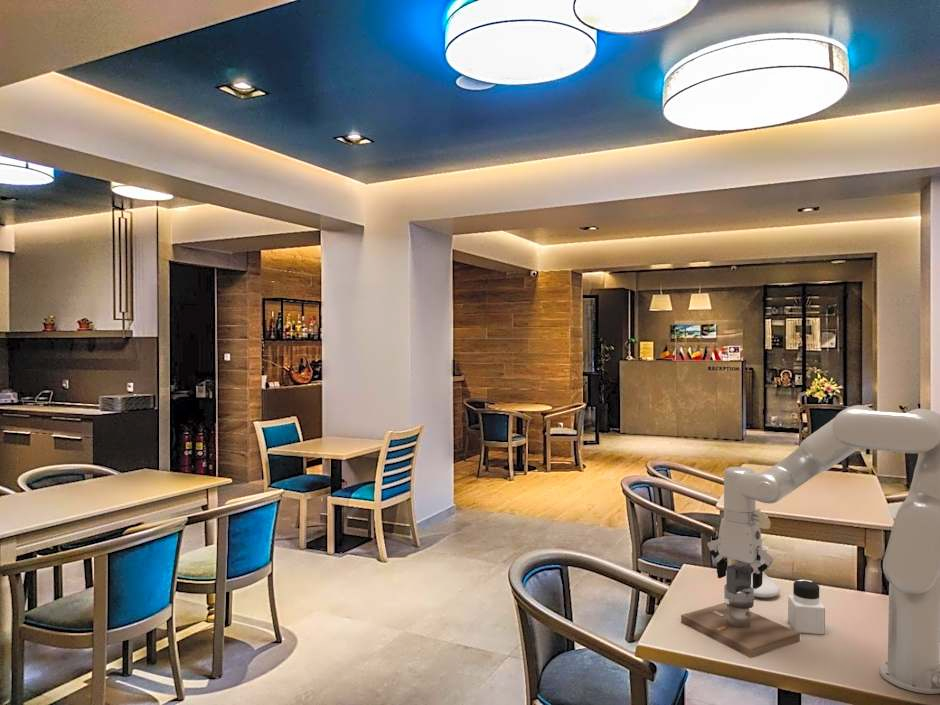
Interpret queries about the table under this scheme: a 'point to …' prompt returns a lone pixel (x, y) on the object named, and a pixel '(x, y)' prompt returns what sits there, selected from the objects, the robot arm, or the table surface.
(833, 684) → the table surface
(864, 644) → the table surface
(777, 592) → the flower in vase
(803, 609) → the medicine bottle
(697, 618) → the brown wooden board
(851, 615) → the table surface
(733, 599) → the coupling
